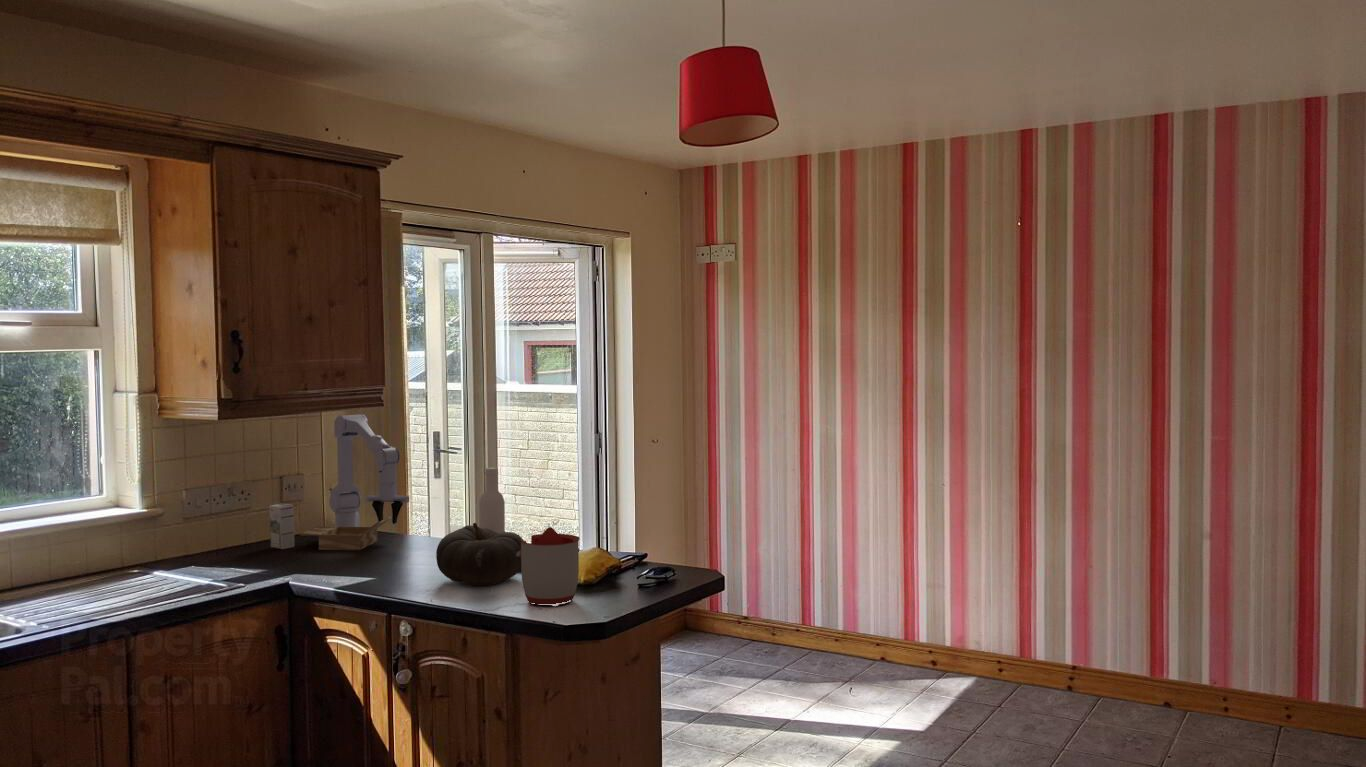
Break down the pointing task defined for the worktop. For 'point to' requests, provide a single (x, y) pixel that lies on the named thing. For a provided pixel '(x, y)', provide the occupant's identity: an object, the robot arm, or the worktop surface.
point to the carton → (342, 537)
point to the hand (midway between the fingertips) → (387, 523)
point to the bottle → (492, 504)
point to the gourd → (479, 555)
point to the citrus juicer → (550, 567)
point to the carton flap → (376, 525)
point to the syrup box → (282, 526)
